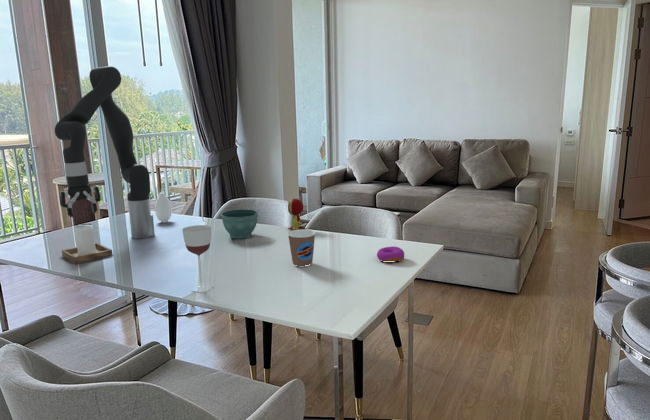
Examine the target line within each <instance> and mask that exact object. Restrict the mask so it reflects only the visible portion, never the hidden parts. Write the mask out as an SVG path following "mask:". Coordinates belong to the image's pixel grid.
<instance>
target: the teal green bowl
mask: <svg viewBox="0 0 650 420" xmlns="http://www.w3.org/2000/svg"><path fill="white" fill-rule="evenodd" d="M220 215H221V220H222V224H223V226H224V228H225V231H226V232H227V233H228V234H229V236H230V238H232V239H236V238H242V239H248V238H250V237H252V234H253V232H254V230H255V228H256V226H257V224H258V215H259V213H258V211H257V210H254V209H248V208H247V209H245V208H244V209H243V208H242V209H241V208H239V209H230V210H226V211H223V212H221V214H220ZM247 237H248V238H247Z"/></svg>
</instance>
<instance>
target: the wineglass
mask: <svg viewBox="0 0 650 420" xmlns="http://www.w3.org/2000/svg"><path fill="white" fill-rule="evenodd" d="M181 230H182V235H183V240H184V243H185V248H186V250H187V251H188V252H189V253H191V254H194V255H197V263H198V276H199V277H198V278H199V284H200V286H198V287H204V286H202V284H203V277H202V276H203V275H202V264H201V263H202V262H201V255H203V254H204V253H206V252H207V251H208V250H209V249H210V246H211V239H212V227H211V226H210V225H205V224H203V225H202V224H201V225H200V224H198V225H197V224H196V225H189V226H185V227H183V228H182V229H181Z"/></svg>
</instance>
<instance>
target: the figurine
mask: <svg viewBox="0 0 650 420" xmlns="http://www.w3.org/2000/svg"><path fill="white" fill-rule="evenodd" d="M287 210H288V213H289V214H290V215H291V216H293V218H292V224H293V226H290V227H287V229H286V231H287V230H288V231H287V232H290V231H293V230H300V229H306V230H308V229H307V228H306V227H305V226H303V225H301V216H300V214H301V213H302V212H303V211H304V204H303V202H302V200H300V199H299V198H293V199H292V198H291V199H290V200H289V201H288V203H287Z"/></svg>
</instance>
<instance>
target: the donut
mask: <svg viewBox="0 0 650 420" xmlns="http://www.w3.org/2000/svg"><path fill="white" fill-rule="evenodd" d="M376 257H377V259H378V260H379V259H380V260H382V261H398V260H401V259H402V260H404V258H405V252H404V250H403V248H401V247H398V246H385V247H382V248H380V249H378V251H377V253H376ZM380 260H379V261H380ZM402 260H401V261H402Z"/></svg>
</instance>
